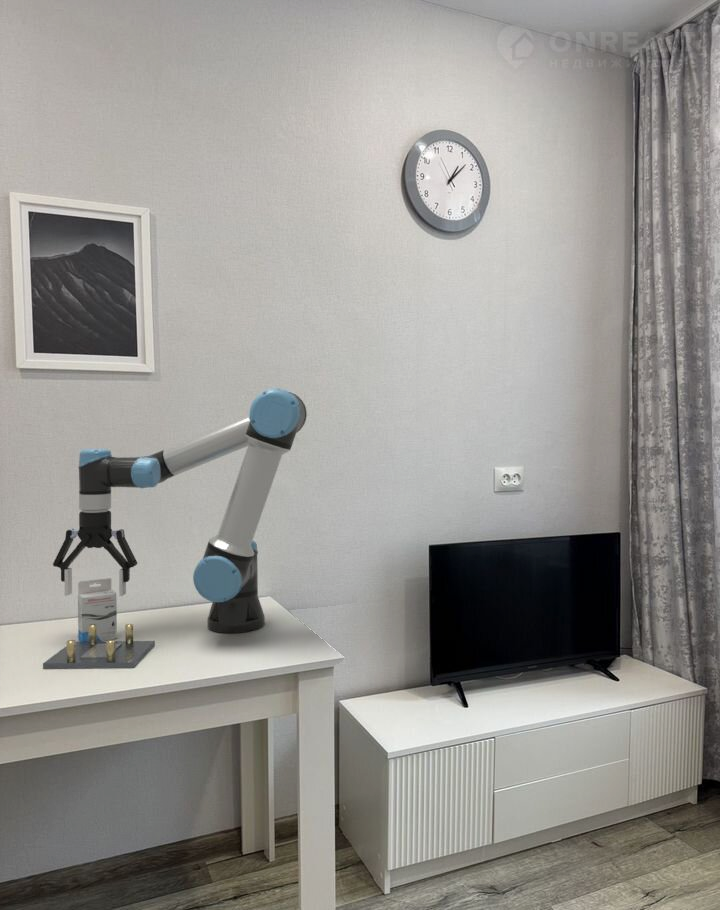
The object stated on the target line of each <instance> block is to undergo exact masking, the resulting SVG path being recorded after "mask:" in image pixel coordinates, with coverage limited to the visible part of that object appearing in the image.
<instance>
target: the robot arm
mask: <svg viewBox="0 0 720 910" xmlns="http://www.w3.org/2000/svg"><path fill="white" fill-rule="evenodd" d="M307 412H308V411H307V407H306V406H305V403H304V401H303V400H302V399H301V398H300V396H298V395H296V394H295V393H292V392H291V391H288V390H286V389H282V388H270V389H267V390H264V391H262V392H261V393H259V394H258V395H256V397H254V399H253V400H252V402H251V405H250V408H249V412H248V415H245V416H242V417H240V418H238V419H235V420H233V421H231V422H228V423H226V424H224V425H221V426H218V427H216V428H213V429H210V430H209V431H206V432H204V433H201V434H199V435H197V436H195V437H192V438H190V439H187V440H185V441H181V442H180V443H177V444H175V445H173V446H171V447H168V448H165V449H163V450H161V451H158V452H156V453H153V454H150V455H148V456H147V455H146V456H135V457H133V456H132V457H131V456H130V457H129V456H127V457H118V456H117V457H116V456H112V452H111V449H107V448H105V449H103V448H89V449H88V448H84V449H82V450H81V451H80V452H79V457H78V458H79V460H78V480H79V481H78V482H79V484H78V487H79V490H78V493H79V495H78V510H80V512H78V522H79V523H78V527H79V529H78V530H77V529H76V530H75V529H74V528H71V529H67V530H66V531H65V539H64V541H63V542H62V544H61V546H60V549H59V550H58V553H57V555H56V557H55V559H54V561H53V563H52V565H53V567H54V568H55V567H56V568H59V569H60V580H61V582H64V597H65V596H70V595H71V594H73V567H70V566H71V564H72V563H73V562H74V561H75V560H76V558H77V557H78V556H79V555H80V554H81V552H82V551H84V549H86V548H88V549H93V548H96V549H101V548H104V550H106V551H107V553H108V554H110V555H111V557H112V558H113V559H114V560H115V562H116V563H117V564H118V565H119V566H120V567H121V568H120V569H119V571H118V573H119V574H118V575H119V577H118V578H119V581H118V583H119V585H118V587H119V589H118V590H119V594H118V596H119V597H123V596H124V595H126V594H127V583H128V582H129V581H130V576H131V574H130V572H131V568H134V567H136V566H137V565H138V561H137V559H136V557H135V555H134V553H133V551H132V549H131V546H130V545H129V542H128V541H127V539H126V536H125V530H124V529H119V530H112V511H110V509H112V488H139V489H145V488H146V489H147V488H155V487H156V486H157V485H158V484H161V483H164V482H165V481H166V480H168V479H171V478H172V477H175V476H177V475H180V474H182V473H184V472H187V471H190V470H192V469H194V468H197V467H200V466H202V465H204V464H207V463H209V462H211V461H214V460H217V459H219V458H221V457H225V456H227V455H229V454H232V453H235V452H236V451H239V450H241V449H244V448H246V450H245V454H244V457H243V460H242V463H241V465H240V467H239V471H238V474H237V477H236V480H235V483H234V486H233V489H232V491H231V495H230V498H229V501H228V503H227V507H226V508H225V512H224V515H223V519H222V521H221V524H220V527H219V529H218V532H217V535H215V536H212V537H211V538H209V539H208V542H207V546H206V548H205V551H204V554H203V556H202V559H201V560H199V562H198V563H197V565H196V566H195V569H194V572H193V575H192V576H193V577H192V580H193V585H194V588H195V589H196V591H197V593H198V594H199V596H200V597H202V598H204V599H205V600H207V601H209V602H211V606H210V610H209V612H208V615H207V621H206V622H207V629H209V630H210V631H212V632H217V633H221V634H222V633H225V634H226V633H227V634H234V633H235V634H236V633H238V634H239V633H246V632H247V633H248V632H251V631H255V630H258V629H261V628H262V627H263V626H265V624H266V623H265V621H266V620H265V619H266V618H265V612H264V610H263V608H262V604H261V602H260V599H259V598H260V597H259V592H258V591H259V590H258V588H259V587H258V585H259V584H258V582H259V580H258V575H259V574H258V572H259V570H258V569H259V568H258V554H259V551H258V544H257V542H256V541H254V538H255V535H256V531H257V528H258V526H259V523H260V521H261V517H262V514H263V511H264V508H265V507H266V503H267V500H268V498H269V497H268V496H269V494H270V492H271V489H272V486H273V482H274V479H275V476H276V474H277V471H278V467H279V465H280V462H281V459H282V457H283V455H284V454H286V453H288V452H290V451H291V449H292V446H293V444H294V441H295V438H296V435H297V433H298V432H299V431H301V430H302V428H303V427H304V426H305V425H306V424H305V423H306V422H307V416H308V413H307ZM77 537H78V538H79V539H80V542H79V543H78V544H77V545H76V547H75V548H74V549H73V550H72V551H71V553H69V554H68V556H67V558H66V555H67V553H68V552H69V549H70V548H71V546H72V544H73V541H74V539H76V538H77ZM112 537H113V538H114V539H116V541H117V543H118V545H119V547H120V549H121V551H122V553H121V552H120V551H119V550H118V548H117V547H116V546H115V544H114V543H113V541H112V540H111V539H112ZM122 554H123V555H122ZM65 558H66V559H65Z"/></svg>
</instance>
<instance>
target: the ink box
mask: <svg viewBox="0 0 720 910" xmlns="http://www.w3.org/2000/svg"><path fill="white" fill-rule="evenodd" d="M77 584H78V586H77V587H78V589H77V591H78V592H77V621H78V622H77V625H78V626H77V627H78V629H77V630H78V631H77V632H78V635H77V637H78V641H79V642H84V641H89V625H91V624H96V625H97V641H107V640H116V639H117V638H118V637H117V636H118V635H117V632H118V631H117V630H118V627H117V626H118V625H117V624H118V623H117V620H118V619H117V616H118V615H117V614H118V613H117V612H118V611H117V610H118V609H117V606H118V605H117V593H116V592H115V590H113V589H112V578H110V577H109V578H100V579H99V578H98V579H89V580H83V581H82V580H81V581H79V582H78V583H77ZM94 584H96V585H98V584H99V586H92V585H94Z"/></svg>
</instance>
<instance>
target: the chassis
mask: <svg viewBox="0 0 720 910" xmlns="http://www.w3.org/2000/svg"><path fill="white" fill-rule="evenodd" d="M124 626H125V627H124V633H125V636H124V637H125V640H116V639H111V640H104V641H97V625H96V624H91V625H89V641H84V642H81V641H76V640H75V639H71V640H67V641H66V646H64V647H63V648H61V649H60V650H59V651H58V652H56V653H55V654H53V655H52V656H51V657H50V658H48V659H47V660H45V661H44V662H43V663H42V669H43V670H49V669H50V670H52V669H53V670H55V669H58V670H61V669H65V670H67V669H135V668H136V666H137V665H138V664H139V663H140V662H141V661H142V660H143V659H144V658H145V657H146V656H147V654H149V652H150V651H151V650H152V649H153V648H154V647H155V645H156V644H155V643H156V642H155V640H134V624H133V623H127V624H125V625H124Z"/></svg>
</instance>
